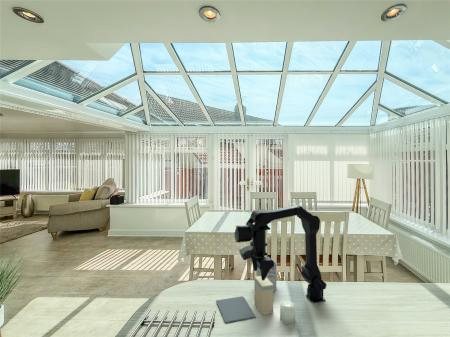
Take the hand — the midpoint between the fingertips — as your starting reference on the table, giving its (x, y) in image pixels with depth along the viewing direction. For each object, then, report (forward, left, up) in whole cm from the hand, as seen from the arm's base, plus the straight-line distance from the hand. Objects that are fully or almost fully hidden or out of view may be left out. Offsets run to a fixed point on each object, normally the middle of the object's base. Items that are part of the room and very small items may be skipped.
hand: (259, 275), depth 113 cm
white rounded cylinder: (-8, +10, -15) cm, 20 cm away
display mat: (+10, -2, -14) cm, 18 cm away
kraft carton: (-2, 0, -15) cm, 15 cm away
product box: (-10, -15, -15) cm, 23 cm away
